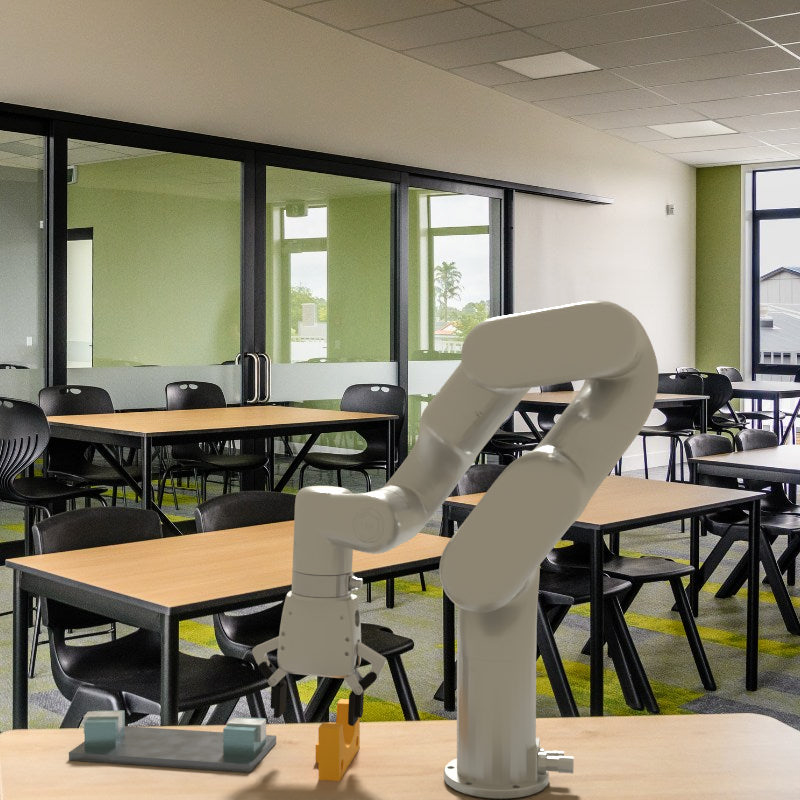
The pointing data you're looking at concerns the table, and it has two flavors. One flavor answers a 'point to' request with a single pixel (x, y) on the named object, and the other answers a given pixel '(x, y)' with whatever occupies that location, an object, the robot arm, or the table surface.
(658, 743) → the table surface
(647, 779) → the table surface
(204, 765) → the workpiece vise
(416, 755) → the table surface
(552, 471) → the robot arm
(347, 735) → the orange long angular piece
